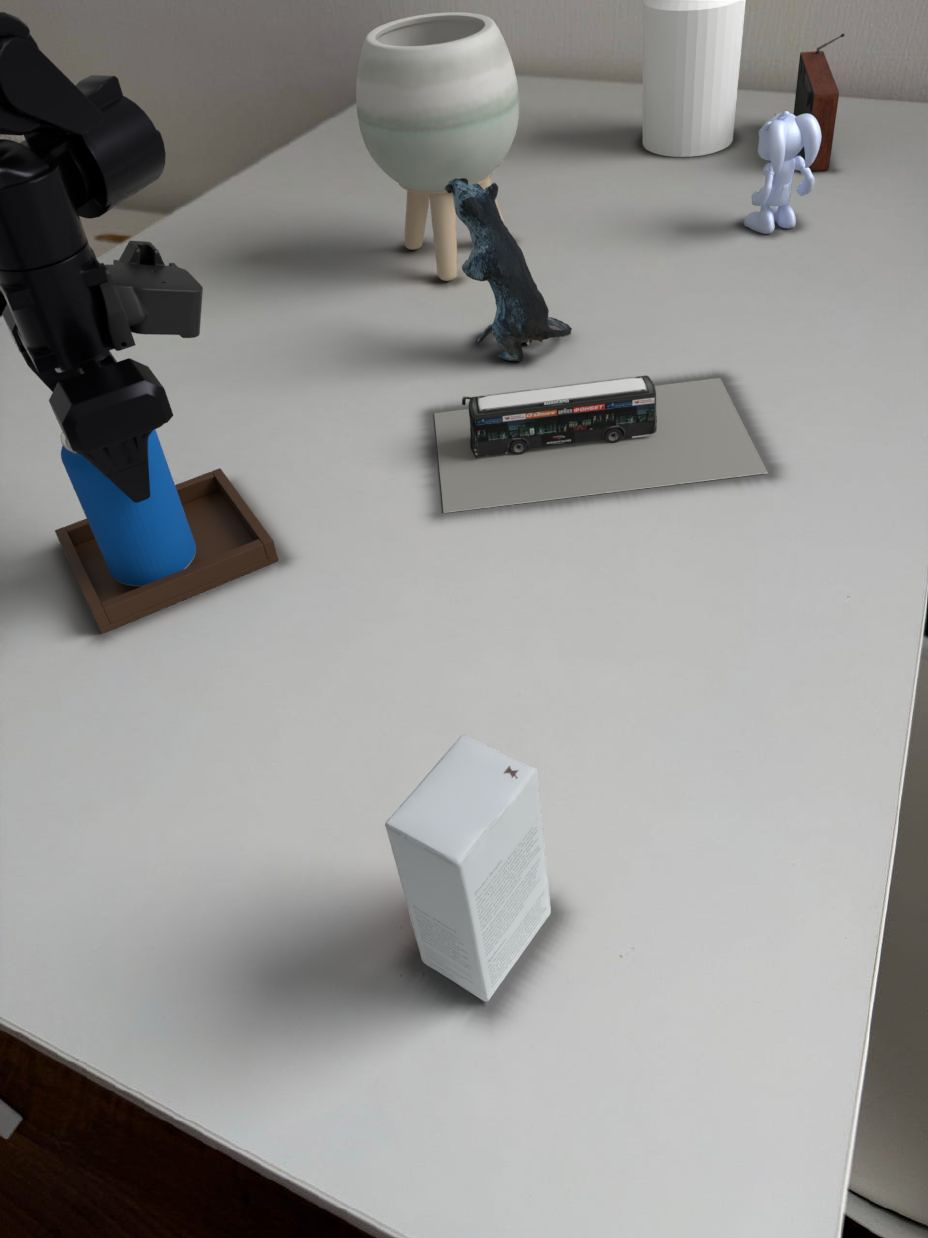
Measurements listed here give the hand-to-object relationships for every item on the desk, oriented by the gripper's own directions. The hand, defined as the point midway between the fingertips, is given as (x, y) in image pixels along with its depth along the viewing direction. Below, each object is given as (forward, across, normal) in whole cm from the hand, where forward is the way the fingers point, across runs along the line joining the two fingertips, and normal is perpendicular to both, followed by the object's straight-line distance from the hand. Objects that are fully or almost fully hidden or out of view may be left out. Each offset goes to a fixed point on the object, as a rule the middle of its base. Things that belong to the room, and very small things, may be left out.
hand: (123, 467), depth 72 cm
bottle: (+9, +43, -84) cm, 95 cm away
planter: (+9, +33, -44) cm, 56 cm away
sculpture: (+9, +12, -39) cm, 42 cm away
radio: (+9, +30, -92) cm, 97 cm away
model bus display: (+9, -6, -35) cm, 37 cm away
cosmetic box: (+9, -40, -5) cm, 41 cm away
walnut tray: (+9, +1, -1) cm, 9 cm away
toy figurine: (+9, +16, -74) cm, 76 cm away
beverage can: (+9, 0, 0) cm, 9 cm away
